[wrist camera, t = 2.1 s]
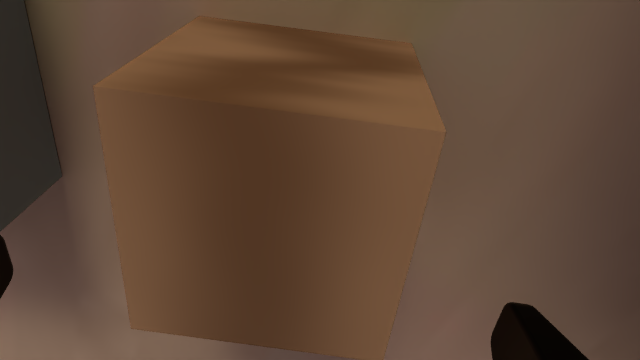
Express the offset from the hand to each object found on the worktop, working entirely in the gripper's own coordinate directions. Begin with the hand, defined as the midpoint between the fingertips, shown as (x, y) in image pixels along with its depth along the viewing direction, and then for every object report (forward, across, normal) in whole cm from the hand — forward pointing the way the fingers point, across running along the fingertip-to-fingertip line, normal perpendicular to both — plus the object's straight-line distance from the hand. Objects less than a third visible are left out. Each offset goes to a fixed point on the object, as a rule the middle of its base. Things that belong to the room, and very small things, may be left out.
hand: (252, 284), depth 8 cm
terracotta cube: (+7, 0, 0) cm, 7 cm away
